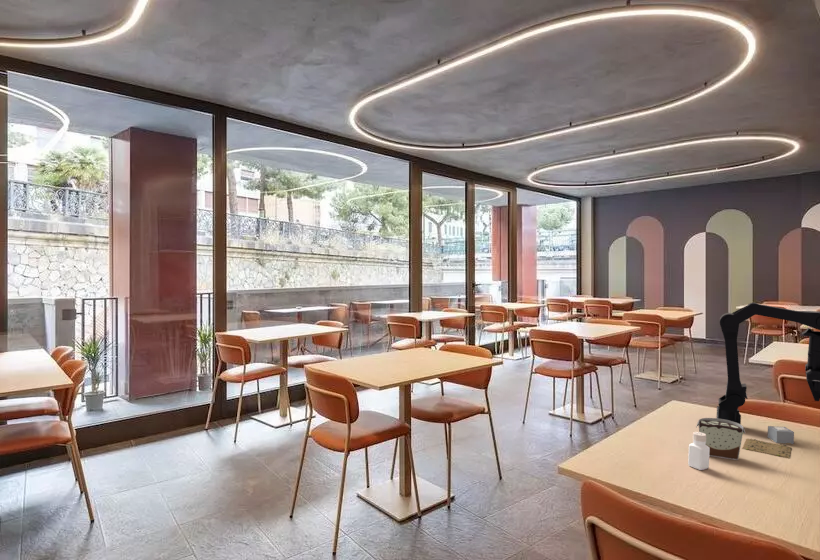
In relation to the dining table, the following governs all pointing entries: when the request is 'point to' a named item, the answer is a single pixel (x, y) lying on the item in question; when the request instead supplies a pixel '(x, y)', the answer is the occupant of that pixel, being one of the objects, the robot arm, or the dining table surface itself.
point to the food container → (722, 437)
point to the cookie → (767, 448)
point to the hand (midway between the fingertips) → (816, 398)
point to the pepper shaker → (698, 452)
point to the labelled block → (780, 434)
